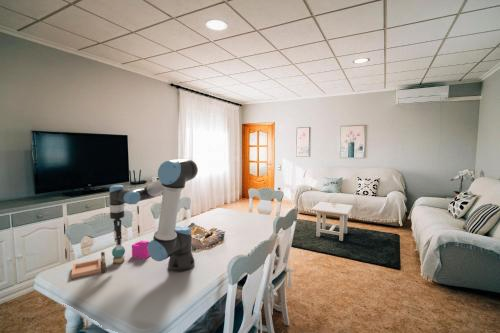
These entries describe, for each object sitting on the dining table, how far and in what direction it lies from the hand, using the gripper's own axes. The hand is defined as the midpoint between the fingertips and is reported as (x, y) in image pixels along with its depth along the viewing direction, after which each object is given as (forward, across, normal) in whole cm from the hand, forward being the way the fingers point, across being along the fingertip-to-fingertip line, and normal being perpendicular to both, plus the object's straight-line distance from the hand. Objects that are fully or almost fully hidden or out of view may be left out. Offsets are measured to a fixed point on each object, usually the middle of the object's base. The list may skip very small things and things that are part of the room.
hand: (117, 245), depth 146 cm
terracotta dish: (+10, -2, +16) cm, 19 cm away
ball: (+4, 0, 0) cm, 4 cm away
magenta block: (+11, +4, -16) cm, 19 cm away
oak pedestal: (+10, 0, 0) cm, 10 cm away
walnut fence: (+10, -2, +8) cm, 13 cm away
